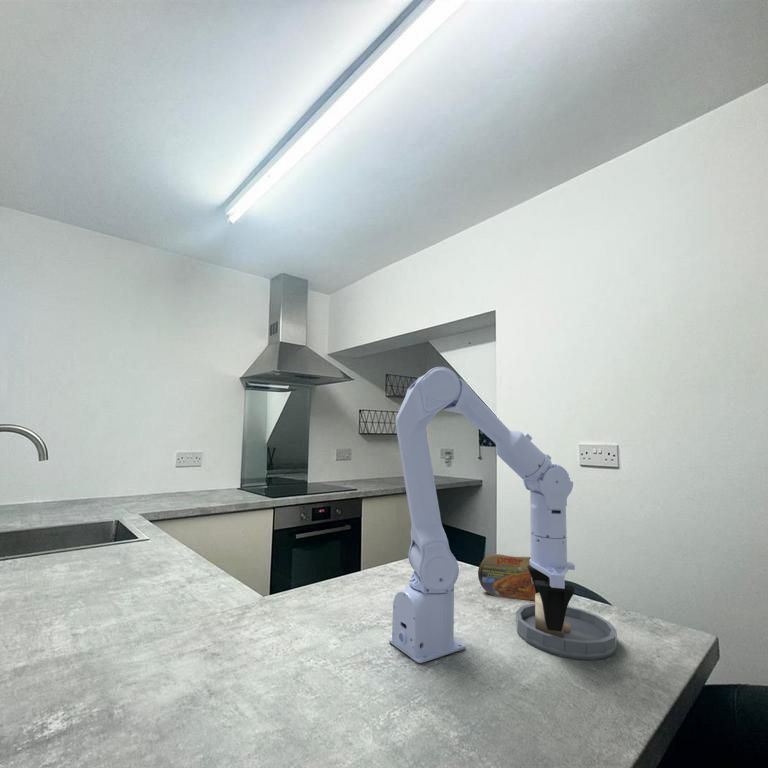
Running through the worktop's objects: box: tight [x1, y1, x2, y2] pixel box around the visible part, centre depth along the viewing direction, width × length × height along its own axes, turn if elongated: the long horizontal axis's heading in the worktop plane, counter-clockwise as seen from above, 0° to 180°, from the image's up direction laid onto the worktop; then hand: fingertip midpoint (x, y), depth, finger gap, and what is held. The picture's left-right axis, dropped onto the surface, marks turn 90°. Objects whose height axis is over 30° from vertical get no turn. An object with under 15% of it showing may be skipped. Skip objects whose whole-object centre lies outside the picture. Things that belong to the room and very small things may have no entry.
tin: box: [477, 553, 536, 602], centre depth 90 cm, size 15×3×8 cm, turn 75°
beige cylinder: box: [534, 593, 564, 638], centre depth 70 cm, size 4×4×6 cm
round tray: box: [515, 603, 618, 661], centre depth 71 cm, size 16×16×2 cm
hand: (549, 620), depth 70 cm, fingers open, 7 cm apart
